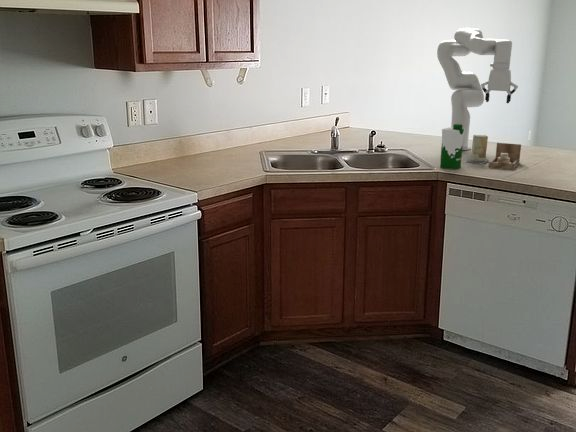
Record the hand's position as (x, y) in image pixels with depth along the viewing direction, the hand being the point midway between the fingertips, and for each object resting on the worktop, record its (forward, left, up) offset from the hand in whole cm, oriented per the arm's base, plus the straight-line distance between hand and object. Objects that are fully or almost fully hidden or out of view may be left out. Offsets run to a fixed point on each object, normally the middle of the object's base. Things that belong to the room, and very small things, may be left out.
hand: (497, 102), depth 300 cm
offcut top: (+9, -21, -23) cm, 32 cm away
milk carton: (-13, -33, -28) cm, 45 cm away
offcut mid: (+9, -21, -25) cm, 34 cm away
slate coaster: (-5, -13, -28) cm, 31 cm away
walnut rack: (+8, -16, -28) cm, 33 cm away
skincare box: (-4, -13, -27) cm, 31 cm away
